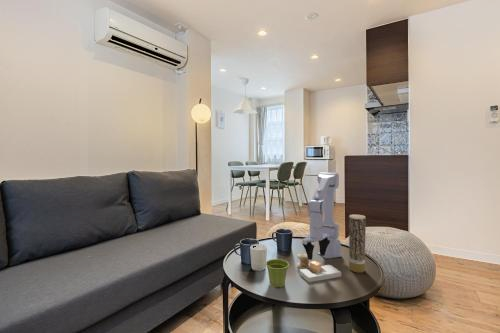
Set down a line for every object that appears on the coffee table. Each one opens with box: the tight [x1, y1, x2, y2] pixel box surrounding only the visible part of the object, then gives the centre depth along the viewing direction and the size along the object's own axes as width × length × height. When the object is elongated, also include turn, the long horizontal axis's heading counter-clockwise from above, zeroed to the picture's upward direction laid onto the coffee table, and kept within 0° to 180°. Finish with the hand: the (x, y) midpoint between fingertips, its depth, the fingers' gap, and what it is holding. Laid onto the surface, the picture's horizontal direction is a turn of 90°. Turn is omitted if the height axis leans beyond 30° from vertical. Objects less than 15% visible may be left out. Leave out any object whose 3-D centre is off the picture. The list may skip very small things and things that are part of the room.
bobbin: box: [296, 252, 310, 271], centre depth 122 cm, size 7×7×5 cm
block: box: [309, 260, 322, 274], centre depth 115 cm, size 3×4×5 cm
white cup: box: [249, 243, 268, 272], centre depth 121 cm, size 8×8×10 cm
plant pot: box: [266, 258, 290, 288], centre depth 106 cm, size 9×9×9 cm
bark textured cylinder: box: [348, 214, 367, 274], centre depth 118 cm, size 7×7×25 cm
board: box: [299, 264, 342, 283], centre depth 114 cm, size 16×8×2 cm, turn 108°
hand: (316, 257), depth 114 cm, fingers open, 7 cm apart
